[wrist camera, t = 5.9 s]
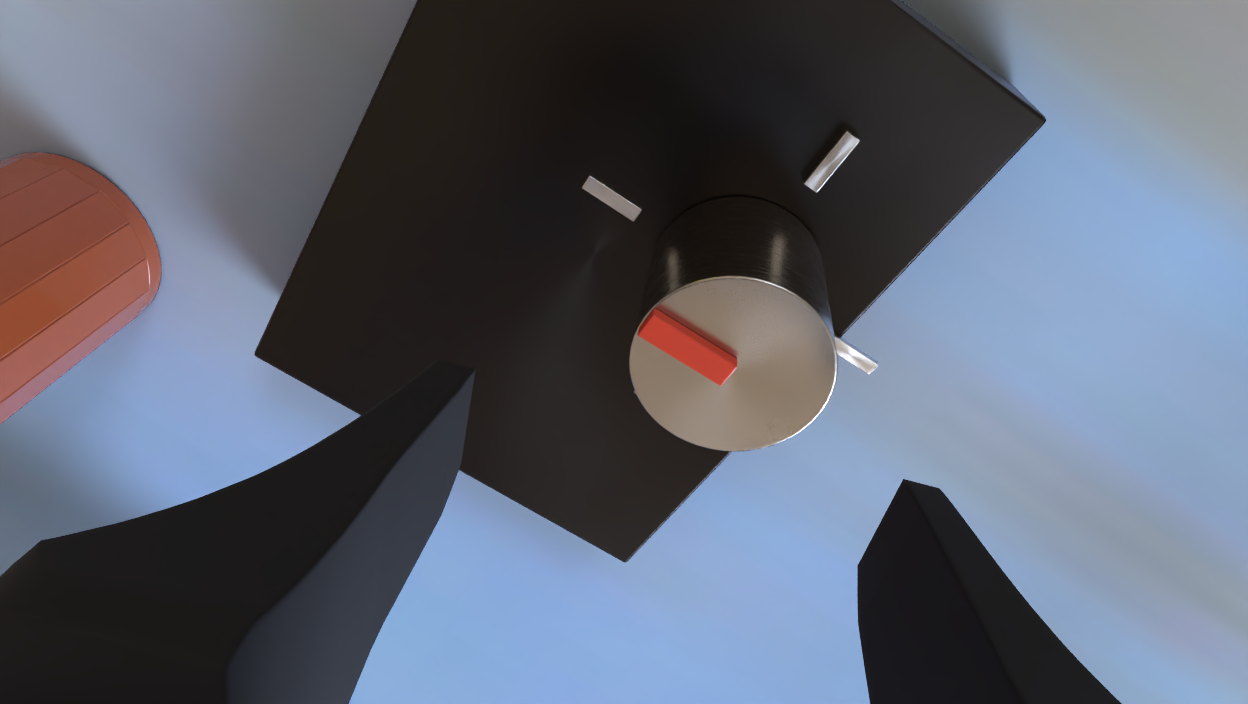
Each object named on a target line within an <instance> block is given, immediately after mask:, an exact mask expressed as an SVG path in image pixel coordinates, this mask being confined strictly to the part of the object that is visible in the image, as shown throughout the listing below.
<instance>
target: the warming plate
mask: <svg viewBox="0 0 1248 704" xmlns="http://www.w3.org/2000/svg"><path fill="white" fill-rule="evenodd" d="M1045 121H1046V118H1045V117H1044V116H1043V115H1042V114H1041V113H1040V112H1039V111H1038V110H1037V109H1036V108H1035V107H1034V106H1033V105H1032V104H1031V103H1030V102H1029V101H1028V100H1027V99H1026V98H1025V97H1024V96H1023V95H1022V94H1021V93H1020V92H1019V91H1018V90H1017V89H1016V88H1015V87H1014V86H1013V85H1011V84H1010V83H1009V82H1007V81H1006V80H1005V79H1004V78H1002V77H1001V76H1000V75H998V74H997V73H996V72H994V71H993V70H992V69H990V68H989V67H988V66H986V65H985V64H984V63H983V62H981V61H980V60H979V59H977V58H976V57H975V56H973V55H972V54H971V53H969V52H968V51H967V50H965V49H964V48H963V47H962V46H960V45H959V44H958V43H956V42H955V41H954V40H952V39H951V38H950V37H948V36H947V35H946V34H944V33H943V32H942V31H941V30H939V29H938V28H937V27H935V26H934V25H933V24H931V23H930V22H929V21H927V20H926V19H925V18H923V17H922V16H921V15H920V14H918V13H917V12H916V11H914V10H913V9H912V8H910V7H909V6H908V5H906V4H905V3H904V2H902V1H901V0H417V2H416V4H415V6H414V8H413V11H412V13H411V15H410V17H409V19H408V21H407V24H406V26H405V28H404V30H403V32H402V34H401V37H400V39H399V41H398V43H397V45H396V47H395V50H394V52H393V54H392V56H391V58H390V60H389V63H388V65H387V67H386V69H385V71H384V73H383V76H382V78H381V80H380V82H379V84H378V86H377V89H376V91H375V93H374V95H373V97H372V99H371V102H370V104H369V106H368V108H367V110H366V112H365V115H364V117H363V119H362V121H361V123H360V125H359V128H358V130H357V132H356V134H355V136H354V138H353V141H352V143H351V145H350V147H349V149H348V151H347V154H346V156H345V158H344V160H343V162H342V164H341V167H340V169H339V171H338V173H337V175H336V177H335V180H334V182H333V184H332V186H331V188H330V190H329V193H328V195H327V197H326V199H325V201H324V203H323V206H322V208H321V210H320V212H319V214H318V216H317V219H316V221H315V223H314V225H313V227H312V229H311V232H310V234H309V236H308V238H307V240H306V242H305V245H304V247H303V249H302V251H301V253H300V255H299V257H298V260H297V262H296V264H295V266H294V268H293V270H292V273H291V275H290V277H289V279H288V281H287V283H286V286H285V288H284V290H283V292H282V294H281V296H280V299H279V301H278V303H277V305H276V307H275V309H274V312H273V314H272V316H271V318H270V320H269V322H268V325H267V327H266V329H265V331H264V333H263V335H262V338H261V340H260V342H259V344H258V346H257V348H256V351H255V356H256V357H258V358H260V359H261V360H263V361H265V362H267V363H269V364H270V365H272V366H274V367H276V368H278V369H279V370H281V371H283V372H285V373H286V374H288V375H290V376H292V377H294V378H295V379H297V380H299V381H301V382H303V383H304V384H306V385H308V386H310V387H312V388H313V389H315V390H317V391H319V392H320V393H322V394H324V395H326V396H328V397H329V398H331V399H333V400H335V401H337V402H338V403H340V404H342V405H344V406H346V407H347V408H349V409H351V410H353V411H354V412H356V413H358V414H360V415H363V414H364V413H366V412H367V411H369V410H370V409H372V408H373V407H375V406H376V405H377V404H379V403H380V402H382V401H383V400H385V399H386V398H387V397H389V396H390V395H392V394H393V393H394V392H396V391H397V390H398V389H400V388H401V387H402V386H404V385H405V384H406V383H408V382H409V381H410V380H411V379H413V378H414V377H415V376H417V375H418V374H419V373H420V372H422V371H423V370H424V369H425V368H427V367H428V366H429V365H431V364H432V363H434V362H436V361H437V360H439V359H440V360H444V361H448V362H452V363H455V364H459V365H463V366H467V367H471V368H475V376H474V382H473V389H472V395H471V402H470V408H469V415H468V421H467V428H466V434H465V441H464V447H463V454H462V460H461V465H460V468H459V470H460V471H462V472H464V473H465V474H467V475H469V476H471V477H473V478H474V479H476V480H478V481H480V482H481V483H483V484H485V485H487V486H489V487H490V488H492V489H494V490H496V491H498V492H499V493H501V494H503V495H505V496H507V497H508V498H510V499H512V500H514V501H515V502H517V503H519V504H521V505H523V506H524V507H526V508H528V509H530V510H532V511H533V512H535V513H537V514H539V515H541V516H542V517H544V518H546V519H548V520H549V521H551V522H553V523H555V524H557V525H558V526H560V527H562V528H564V529H566V530H567V531H569V532H571V533H573V534H575V535H576V536H578V537H580V538H582V539H583V540H585V541H587V542H589V543H591V544H592V545H594V546H596V547H598V548H600V549H601V550H603V551H605V552H607V553H608V554H610V555H612V556H614V557H616V558H617V559H619V560H621V561H623V562H627V561H628V560H629V559H630V558H631V557H632V556H633V555H634V554H635V553H636V552H637V551H638V550H639V549H640V547H641V546H642V545H643V544H644V543H645V542H646V541H647V540H648V539H649V538H650V537H651V536H652V535H653V534H654V533H655V532H656V531H657V530H658V529H659V528H660V526H661V525H662V524H663V523H664V522H665V521H666V520H667V519H668V518H669V517H670V516H671V515H672V514H673V513H674V512H675V511H676V510H677V509H678V508H679V507H680V505H681V504H682V503H683V502H684V501H685V500H686V499H687V498H688V497H689V496H690V495H691V494H692V493H693V492H694V491H695V490H696V489H697V488H698V487H699V486H700V484H701V483H702V482H703V481H704V480H705V479H706V478H707V477H708V476H709V475H710V474H711V473H712V472H713V471H714V470H715V469H716V468H717V467H718V466H719V465H720V464H721V462H722V461H723V460H724V459H725V458H726V457H727V456H728V455H729V454H730V453H731V452H732V451H721V450H714V449H709V448H705V447H701V446H697V445H695V444H692V443H690V442H687V441H685V440H683V439H681V438H679V437H677V436H675V435H673V434H672V433H670V432H669V431H667V430H666V429H664V428H663V427H662V426H661V425H660V424H659V423H657V422H656V421H655V420H654V419H653V418H652V417H651V415H650V414H649V413H648V412H647V411H646V409H645V408H644V406H643V405H642V404H641V402H640V400H639V398H638V396H637V394H636V392H635V390H634V387H633V384H632V381H631V376H630V371H629V354H630V346H631V342H632V338H633V334H634V330H635V325H636V321H637V317H638V313H639V309H640V304H641V300H642V296H643V292H644V288H645V284H646V279H647V275H648V271H649V267H650V263H651V259H652V255H653V252H654V249H655V247H656V245H657V242H658V240H659V239H660V237H661V236H662V234H663V232H664V231H665V230H666V229H667V228H668V226H669V225H670V224H671V223H672V222H673V221H674V220H675V219H677V218H678V217H679V216H680V215H682V214H683V213H685V212H686V211H687V210H689V209H691V208H693V207H695V206H697V205H699V204H702V203H704V202H707V201H710V200H714V199H719V198H726V197H749V198H756V199H760V200H763V201H767V202H770V203H772V204H775V205H777V206H779V207H781V208H783V209H785V210H786V211H788V212H790V213H791V214H792V215H793V216H795V217H796V218H797V219H799V220H800V221H801V222H802V224H803V225H804V226H805V227H806V228H807V229H808V230H809V232H810V233H811V234H812V236H813V238H814V240H815V241H816V243H817V245H818V248H819V250H820V253H821V257H822V262H823V267H824V273H825V279H826V286H827V292H828V299H829V305H830V311H831V318H832V324H833V330H834V337H835V343H836V349H837V354H838V355H839V356H841V357H842V358H844V359H846V360H847V361H849V362H850V363H852V364H853V365H855V366H856V367H858V368H859V369H861V370H862V371H864V372H866V373H867V374H870V373H871V372H872V371H873V370H874V369H875V368H876V367H877V366H878V365H879V364H878V361H876V360H875V359H873V358H872V357H870V356H869V355H867V354H866V353H864V352H862V351H861V350H859V349H858V348H856V347H855V346H853V345H852V344H850V343H849V342H847V341H846V340H844V339H843V338H841V336H842V335H843V334H844V333H845V332H846V331H847V330H848V329H849V328H850V327H851V326H852V325H853V324H854V323H855V322H856V321H857V320H858V319H859V318H860V317H861V315H862V314H863V313H864V312H865V311H866V310H867V309H868V308H869V307H870V306H871V305H872V304H873V303H874V302H875V301H876V300H877V299H878V298H879V297H880V296H881V294H882V293H883V292H884V291H885V290H886V289H887V288H888V287H889V286H890V285H891V284H892V283H893V282H894V281H895V280H896V279H897V278H898V277H899V276H900V275H901V273H902V272H903V271H904V270H905V269H906V268H907V267H908V266H909V265H910V264H911V263H912V262H913V261H914V260H915V259H916V258H917V257H918V256H919V255H920V254H921V252H922V251H923V250H924V249H925V248H926V247H927V246H928V245H929V244H930V243H931V242H932V241H933V240H934V239H935V238H936V237H937V236H938V235H939V234H940V233H941V231H942V230H943V229H944V228H945V227H946V226H947V225H948V224H949V223H950V222H951V221H952V220H953V219H954V218H955V217H956V216H957V215H958V214H959V213H960V212H961V210H962V209H963V208H964V207H965V206H966V205H967V204H968V203H969V202H970V201H971V200H972V199H973V198H974V197H975V196H976V195H977V194H978V193H979V192H980V191H981V189H982V188H983V187H984V186H985V185H986V184H987V183H988V182H989V181H990V180H991V179H992V178H993V177H994V176H995V175H996V174H997V173H998V172H999V171H1000V170H1001V168H1002V167H1003V166H1004V165H1005V164H1006V163H1007V162H1008V161H1009V160H1010V159H1011V158H1012V157H1013V156H1014V155H1015V154H1016V153H1017V152H1018V151H1019V150H1020V149H1021V147H1022V146H1023V145H1024V144H1025V143H1026V142H1027V141H1028V140H1029V139H1030V138H1031V137H1032V136H1033V135H1034V134H1035V133H1036V132H1037V131H1038V130H1039V129H1040V128H1041V126H1042V125H1043V124H1044V123H1045Z"/></svg>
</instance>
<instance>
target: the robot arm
mask: <svg viewBox="0 0 1248 704" xmlns="http://www.w3.org/2000/svg"><path fill="white" fill-rule="evenodd" d="M474 376H475V368H471V367H467V366H463V365H459V364H455V363H452V362H448V361H444V360H440V359H439V360H437V361H436V362H434V363H432V364H431V365H429V366H428V367H427V368H425V369H424V370H423V371H422V372H420V373H419V374H418V375H417V376H415V377H414V378H413V379H411V380H410V381H409V382H408V383H406V384H405V385H404V386H402V387H401V388H400V389H398V390H397V391H396V392H394V393H393V394H392V395H390V396H389V397H387V398H386V399H385V400H383V401H382V402H380V403H379V404H377V405H376V406H375V407H373V408H372V409H370V410H369V411H367V412H366V413H364V414H363V415H362V416H360V417H359V418H357V419H356V420H354V421H353V422H351V423H350V424H348V425H346V426H345V427H343V428H341V429H340V430H338V431H337V432H335V433H333V434H332V435H330V436H328V437H327V438H325V439H323V440H322V441H320V442H318V443H317V444H315V445H314V446H312V447H310V448H308V449H306V450H305V451H303V452H301V453H299V454H297V455H295V456H294V457H292V458H290V459H288V460H286V461H284V462H282V463H280V464H278V465H276V466H274V467H272V468H270V469H268V470H266V471H264V472H262V473H259V474H257V475H255V476H253V477H250V478H248V479H246V480H243V481H240V482H238V483H235V484H233V485H230V486H228V487H225V488H223V489H220V490H218V491H215V492H213V493H210V494H208V495H205V496H203V497H200V498H197V499H195V500H192V501H189V502H186V503H183V504H180V505H177V506H174V507H171V508H168V509H165V510H161V511H158V512H155V513H151V514H148V515H145V516H141V517H138V518H134V519H131V520H127V521H123V522H120V523H116V524H112V525H107V526H103V527H99V528H95V529H90V530H86V531H82V532H78V533H73V534H69V535H65V536H61V537H56V538H51V539H46V540H41V541H40V542H39V543H37V544H36V545H35V546H34V547H33V548H32V549H31V550H29V551H28V552H27V553H26V554H25V555H23V556H22V557H21V558H20V559H19V560H17V561H16V562H15V563H14V564H13V565H12V566H11V567H10V568H9V569H8V570H7V571H5V572H4V573H3V574H2V575H1V576H0V704H349V701H350V699H351V696H352V694H353V692H354V689H355V687H356V684H357V682H358V679H359V677H360V675H361V672H362V670H363V667H364V665H365V662H366V660H367V658H368V655H369V653H370V650H371V648H372V646H373V644H374V642H375V640H376V638H377V635H378V633H379V631H380V629H381V627H382V625H383V623H384V621H385V619H386V617H387V616H388V614H389V612H390V610H391V608H392V606H393V604H394V603H395V601H396V599H397V597H398V595H399V593H400V591H401V590H402V588H403V586H404V584H405V582H406V580H407V578H408V577H409V575H410V573H411V571H412V569H413V567H414V565H415V564H416V562H417V560H418V558H419V556H420V554H421V552H422V550H423V549H424V547H425V545H426V543H427V541H428V539H429V537H430V535H431V534H432V532H433V530H434V528H435V526H436V524H437V522H438V520H439V518H440V516H441V514H442V512H443V509H444V507H445V504H446V502H447V499H448V497H449V494H450V491H451V489H452V486H453V484H454V481H455V478H456V476H457V473H458V470H459V468H460V465H461V460H462V454H463V447H464V441H465V434H466V428H467V421H468V415H469V408H470V402H471V395H472V389H473V382H474ZM858 624H859V632H860V639H861V646H862V653H863V659H864V666H865V673H866V679H867V686H868V692H869V698H870V704H1121V703H1120V702H1119V701H1118V700H1117V699H1116V698H1115V697H1114V696H1113V695H1112V694H1111V693H1110V692H1109V691H1108V690H1107V689H1106V688H1105V687H1104V686H1103V685H1102V684H1101V683H1100V682H1099V681H1098V680H1097V679H1096V678H1095V677H1094V676H1093V675H1092V674H1091V673H1090V672H1089V671H1088V670H1087V669H1086V668H1085V667H1084V666H1083V665H1082V664H1081V663H1080V662H1079V661H1078V660H1077V658H1076V657H1075V656H1074V655H1073V654H1072V653H1071V652H1070V651H1069V650H1068V649H1067V648H1066V647H1065V645H1064V644H1063V643H1062V642H1061V641H1060V640H1059V639H1058V638H1057V636H1056V635H1055V634H1054V633H1053V632H1052V631H1051V629H1050V628H1049V627H1048V626H1047V625H1046V624H1045V622H1044V621H1043V620H1042V619H1041V618H1040V617H1039V615H1038V614H1037V613H1036V612H1035V611H1034V610H1033V608H1032V607H1031V606H1030V605H1029V603H1028V602H1027V601H1026V600H1025V599H1024V597H1023V596H1022V595H1021V594H1020V592H1019V591H1018V590H1017V589H1016V587H1015V586H1014V585H1013V584H1012V582H1011V581H1010V580H1009V578H1008V577H1007V576H1006V575H1005V573H1004V572H1003V571H1002V569H1001V568H1000V567H999V566H998V564H997V563H996V562H995V560H994V559H993V558H992V556H991V555H990V554H989V552H988V551H987V550H986V548H985V547H984V546H983V544H982V543H981V542H980V540H979V539H978V538H977V536H976V535H975V534H974V532H973V531H972V530H971V528H970V527H969V526H968V524H967V523H966V522H965V520H964V519H963V518H962V516H961V515H960V514H959V512H958V511H957V510H956V508H955V507H954V506H953V504H952V503H951V502H950V501H949V499H948V498H947V497H946V496H945V494H944V493H943V492H942V491H941V490H940V489H939V488H936V487H932V486H928V485H924V484H920V483H916V482H912V481H908V480H905V479H903V481H902V483H901V485H900V487H899V488H898V490H897V492H896V494H895V496H894V498H893V500H892V502H891V504H890V506H889V507H888V509H887V511H886V513H885V515H884V517H883V519H882V521H881V523H880V524H879V526H878V528H877V530H876V532H875V534H874V536H873V538H872V540H871V542H870V543H869V545H868V547H867V549H866V551H865V553H864V555H863V557H862V559H861V560H860V562H859V564H858Z"/></svg>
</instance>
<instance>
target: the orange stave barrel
mask: <svg viewBox="0 0 1248 704" xmlns="http://www.w3.org/2000/svg"><path fill="white" fill-rule="evenodd" d="M160 278H161V261H160V255H159V251H158V247H157V244H156V241H155V238H154V236H153V234H152V231H151V229H150V228H149V226H148V224H147V222H146V220H145V219H144V217H143V216H142V214H141V213H140V212H139V210H138V209H137V208H136V206H135V205H134V204H133V203H132V202H131V200H130V199H129V198H128V197H127V196H126V195H125V194H124V193H123V192H122V191H121V190H120V189H119V188H118V187H116V186H115V185H114V184H113V183H112V182H110V181H109V180H108V179H107V178H105V177H104V176H102V175H101V174H99V173H98V172H96V171H95V170H93V169H91V168H89V167H87V166H86V165H84V164H81V163H79V162H77V161H75V160H72V159H69V158H66V157H63V156H60V155H54V154H49V153H38V152H33V153H23V154H19V155H14V156H12V157H10V158H7V159H5V160H3V161H1V162H0V424H1V423H3V422H4V421H5V420H6V419H8V418H9V417H10V416H11V415H13V414H14V413H15V412H16V411H18V410H19V409H20V408H22V407H23V406H24V405H25V404H27V403H28V402H29V401H30V400H32V399H33V398H34V397H35V396H37V395H38V394H39V393H40V392H42V391H43V390H44V389H46V388H47V387H48V386H49V385H51V384H52V383H53V382H54V381H56V380H57V379H58V378H59V377H61V376H62V375H63V374H65V373H66V372H67V371H68V370H70V369H71V368H72V367H73V366H75V365H76V364H77V363H78V362H80V361H81V360H82V359H83V358H85V357H86V356H87V355H89V354H90V353H91V352H92V351H94V350H95V349H96V348H97V347H99V346H100V345H101V344H102V343H104V342H105V341H106V340H108V339H109V338H110V337H111V336H113V335H114V334H115V333H116V332H118V331H119V330H120V329H121V328H123V327H124V326H125V325H126V324H128V323H129V322H130V321H132V320H133V319H134V318H135V317H137V316H138V314H139V313H140V312H141V311H143V310H144V309H145V308H146V307H147V306H148V305H149V304H150V303H151V302H152V300H153V299H154V297H155V295H156V293H157V290H158V287H159V284H160Z"/></svg>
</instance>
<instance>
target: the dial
mask: <svg viewBox="0 0 1248 704" xmlns="http://www.w3.org/2000/svg"><path fill="white" fill-rule="evenodd" d="M629 371H630V376H631V381H632V384H633V387H634V390H635V392H636V394H637V396H638V398H639V400H640V402H641V404H642V405H643V406H644V408H645V409H646V411H647V412H648V413H649V414H650V415H651V417H652V418H653V419H654V420H655V421H656V422H657V423H659V424H660V425H661V426H662V427H663V428H664V429H666V430H667V431H669V432H670V433H672V434H673V435H675V436H677V437H679V438H681V439H683V440H685V441H687V442H690V443H692V444H695V445H697V446H701V447H705V448H709V449H714V450H721V451H749V450H756V449H761V448H765V447H769V446H772V445H775V444H778V443H780V442H783V441H785V440H787V439H789V438H791V437H793V436H794V435H796V434H798V433H799V432H800V431H802V430H803V429H805V428H806V427H807V426H808V425H809V424H810V423H812V422H813V421H814V420H815V419H816V417H817V416H818V415H819V414H820V413H821V412H822V410H823V409H824V407H825V406H826V404H827V402H828V401H829V399H830V397H831V394H832V392H833V390H834V386H835V383H836V379H837V371H838V357H837V349H836V343H835V337H834V330H833V324H832V318H831V311H830V305H829V299H828V292H827V286H826V279H825V273H824V267H823V262H822V257H821V253H820V250H819V248H818V245H817V243H816V241H815V240H814V238H813V236H812V234H811V233H810V232H809V230H808V229H807V228H806V227H805V226H804V225H803V224H802V222H801V221H800V220H799V219H797V218H796V217H795V216H793V215H792V214H791V213H790V212H788V211H786V210H785V209H783V208H781V207H779V206H777V205H775V204H772V203H770V202H767V201H763V200H760V199H756V198H749V197H726V198H719V199H714V200H710V201H707V202H704V203H702V204H699V205H697V206H695V207H693V208H691V209H689V210H687V211H686V212H685V213H683V214H682V215H680V216H679V217H678V218H677V219H675V220H674V221H673V222H672V223H671V224H670V225H669V226H668V228H667V229H666V230H665V231H664V232H663V234H662V236H661V237H660V239H659V240H658V242H657V245H656V247H655V249H654V252H653V255H652V259H651V263H650V267H649V271H648V275H647V279H646V284H645V288H644V292H643V296H642V300H641V304H640V309H639V313H638V317H637V321H636V325H635V330H634V334H633V338H632V342H631V346H630V354H629Z"/></svg>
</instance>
